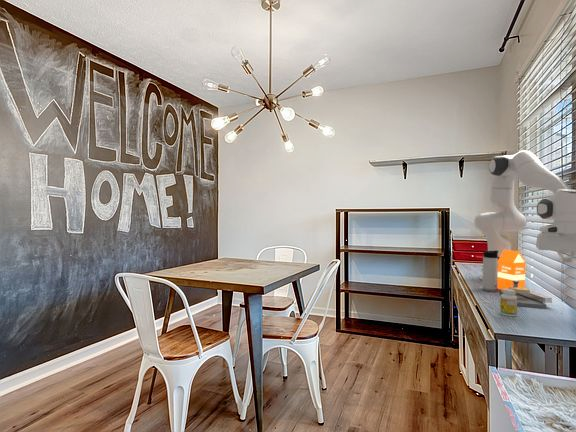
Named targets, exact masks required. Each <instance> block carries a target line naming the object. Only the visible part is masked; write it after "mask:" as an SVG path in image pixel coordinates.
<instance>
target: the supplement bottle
mask: <svg viewBox="0 0 576 432" xmlns="http://www.w3.org/2000/svg"><path fill="white" fill-rule="evenodd" d="M503 293H504V294H500V305H499V306H500V310H499V311H500V314H501V315H503V316H506V317H516V316H517V315H518V306H517V297H516V296H515V295H514V294H515V290H512V289H503Z"/></svg>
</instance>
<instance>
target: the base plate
mask: <svg viewBox="0 0 576 432" xmlns="http://www.w3.org/2000/svg"><path fill="white" fill-rule="evenodd" d="M499 294H500V295H502V294H504V293H503V290H502V289H499ZM516 297H517V307H524V308H525V307H527V308H533V309H534V308H535V309H536V308H537V309H545V310H547V303H544V302H541V301H538V300H535V299H532V298H529V297H526V296H523V295H521V294H518V293H516Z"/></svg>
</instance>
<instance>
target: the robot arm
mask: <svg viewBox="0 0 576 432" xmlns="http://www.w3.org/2000/svg"><path fill="white" fill-rule="evenodd" d="M488 169H489V173H490V174H491V175H492V178H491V186H490V196H489V197H490V199H489V200H490V202H491V204H493V205H494V206H496V207H498V208H500V211H494V212H493V211H487V212H486V211H485V212H481V213H478V214H477V215H476V216H475V218H474V226H475V228H476V229H477V230H479V232H480V233H482V234H483V235H484V237H485V239H486V241H487V251H499V252H498V260H499V258H500V256H501V254H502V253H503V251H504V250H512V244H511V242H510V240H508V239H507V238H505V237H502V235H501V234H500V233H501V232H509V233H510V232H515V233H516V232H521V231H524V229H526V226H527V219H526V216H525V215H524V214H523V213H522V212H520V211H519V210H518V208H517V207H516V204H515V179H516V178H518V180H519V181H520V182H521V183H522V184H523V185H525V186H529V187H533V188H539V189H544V190H547V191H549V192H552V193H553V195H550V196H548V197H546V198H542V199H540V200H539V201H538V203H537V205H536V214H537V215H538V216H539V217H540V218H541V219H543V220H547V221H549V220H551V221H552V220H553V224H547V225H545V226H544V225H543V226H541V227H539V233H538V234H537V237H536V241H535V243H536V244H535V247H536V249H537V250H539V251H552V252H553V251H555V252H556V253H557V255H558V256H559V258H560V260H559V261H560V262H561V263H572V262H573V258H574V257H576V190H575V189H572V188H571V187H570V186H569V185H568V184H567V183H566V182H565V181H564V179H562V178H561V177H560V176H558V174H557V175H556V174H555V173H553V172H552V171H550V170H549V169H548V168H546V167H545V166H544V164H543V163H542V162H541V161H540V159H539V157H537V156H536V155H535V154H534V153H533V152H531V151H529V150H521V151H518V152H517V153H514V154H511V155H509V154H508V155H498V156H497V155H496V156H493V157H492V158H491V159H490V160H489V163H488ZM564 252H569V256H568V257H564V255H563V254H564ZM481 272H483V266H482V267H481ZM479 280H482V281H483V273H481V274H480V275H479ZM497 283H498V268H497Z"/></svg>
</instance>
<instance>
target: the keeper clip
mask: <svg viewBox="0 0 576 432" xmlns="http://www.w3.org/2000/svg"><path fill="white" fill-rule="evenodd" d="M509 289H512V290H515V294H514V295H515V296H516V292H528V293H530V291H531V290H530V289H529V288H527V287H525V288H517V287H509Z"/></svg>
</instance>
